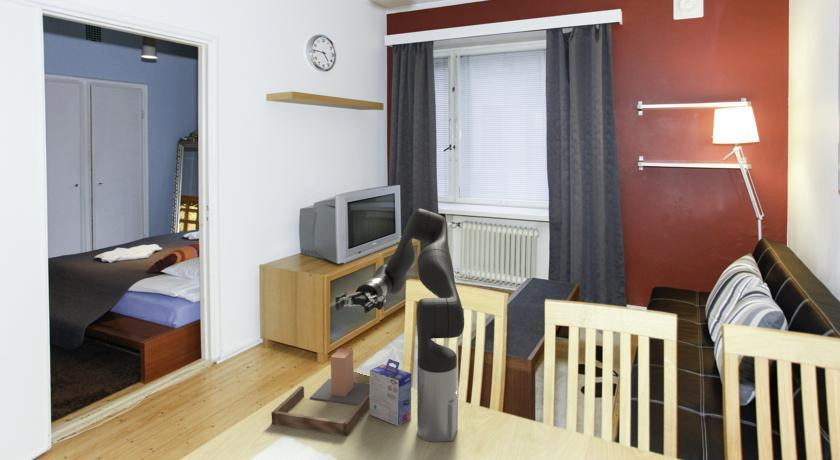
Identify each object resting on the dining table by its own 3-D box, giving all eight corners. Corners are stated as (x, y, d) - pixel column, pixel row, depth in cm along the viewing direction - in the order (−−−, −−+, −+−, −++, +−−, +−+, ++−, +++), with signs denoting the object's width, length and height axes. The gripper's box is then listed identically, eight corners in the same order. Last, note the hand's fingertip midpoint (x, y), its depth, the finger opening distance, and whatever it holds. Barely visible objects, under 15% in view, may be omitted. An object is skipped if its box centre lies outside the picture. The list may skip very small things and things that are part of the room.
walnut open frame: (369, 406, 146) (369, 395, 145) (347, 435, 132) (346, 424, 131) (300, 396, 151) (300, 386, 151) (271, 423, 137) (271, 412, 137)
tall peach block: (353, 386, 156) (352, 349, 154) (345, 396, 150) (344, 358, 149) (340, 385, 157) (339, 348, 155) (331, 394, 151) (330, 356, 150)
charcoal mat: (374, 385, 158) (374, 384, 158) (358, 405, 146) (358, 404, 146) (329, 379, 161) (329, 378, 161) (310, 398, 150) (310, 397, 150)
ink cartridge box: (412, 418, 140) (412, 364, 138) (398, 427, 136) (398, 371, 133) (383, 406, 146) (382, 354, 143) (368, 415, 142) (367, 361, 139)
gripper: (350, 278, 173) (327, 293, 158) (393, 282, 170) (374, 297, 154) (350, 302, 175) (328, 318, 159) (393, 306, 171) (375, 323, 156)
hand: (351, 308), depth 157 cm, fingers open, 8 cm apart
